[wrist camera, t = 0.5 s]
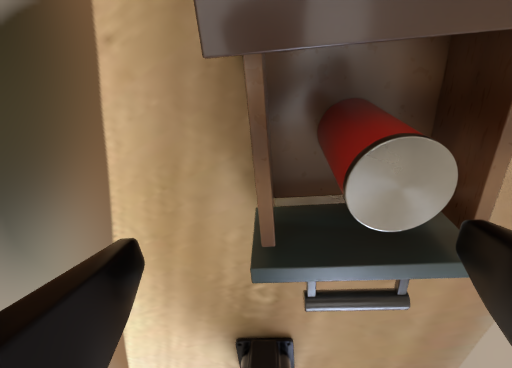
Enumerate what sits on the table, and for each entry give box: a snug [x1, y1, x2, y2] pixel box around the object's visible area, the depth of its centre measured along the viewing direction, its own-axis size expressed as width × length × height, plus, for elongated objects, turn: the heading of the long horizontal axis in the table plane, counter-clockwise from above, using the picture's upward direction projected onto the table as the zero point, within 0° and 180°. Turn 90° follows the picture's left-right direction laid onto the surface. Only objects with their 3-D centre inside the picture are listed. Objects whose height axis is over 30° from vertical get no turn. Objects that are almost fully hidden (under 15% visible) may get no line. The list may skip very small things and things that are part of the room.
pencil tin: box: [317, 98, 458, 232], centre depth 15 cm, size 4×4×8 cm
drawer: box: [243, 29, 512, 312], centre depth 17 cm, size 20×14×7 cm
